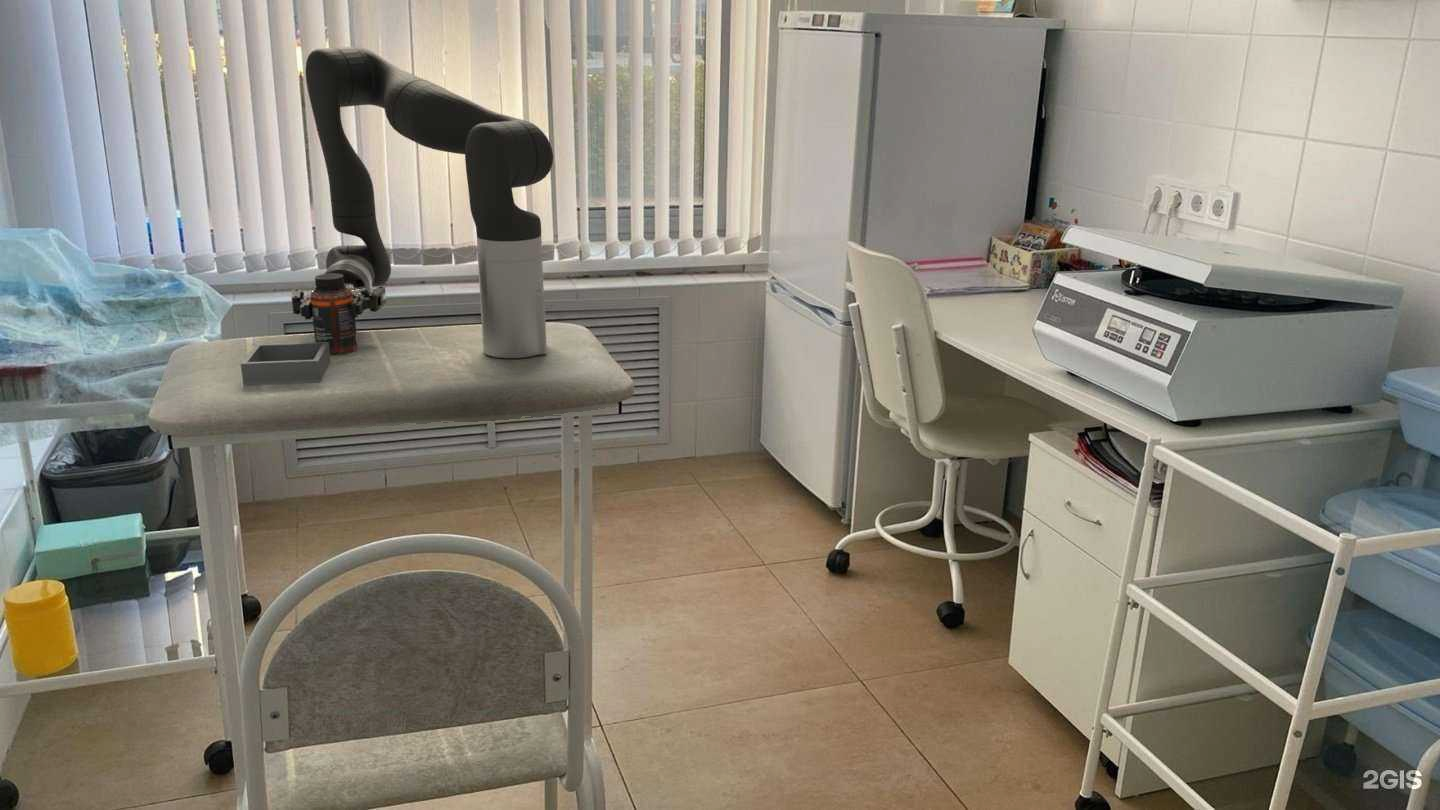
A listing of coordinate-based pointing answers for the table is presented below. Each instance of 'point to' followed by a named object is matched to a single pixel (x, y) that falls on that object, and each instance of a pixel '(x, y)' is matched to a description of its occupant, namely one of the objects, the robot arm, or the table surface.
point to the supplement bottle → (333, 314)
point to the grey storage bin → (286, 363)
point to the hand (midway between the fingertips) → (330, 311)
